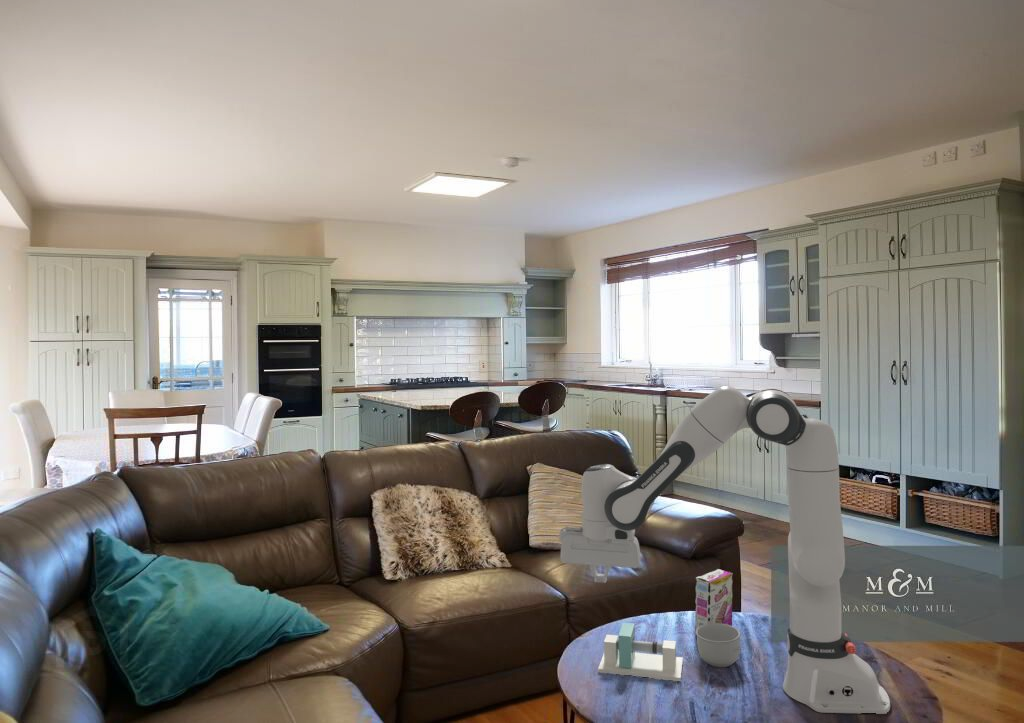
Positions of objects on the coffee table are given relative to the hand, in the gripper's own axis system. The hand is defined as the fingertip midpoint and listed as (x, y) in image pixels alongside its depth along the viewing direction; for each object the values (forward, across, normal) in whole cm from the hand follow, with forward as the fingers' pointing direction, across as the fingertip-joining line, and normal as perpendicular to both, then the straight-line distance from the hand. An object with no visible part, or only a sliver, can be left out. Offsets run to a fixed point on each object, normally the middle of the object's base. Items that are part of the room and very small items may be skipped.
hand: (600, 581), depth 184 cm
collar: (+20, +7, 0) cm, 21 cm away
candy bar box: (+21, +28, +25) cm, 43 cm away
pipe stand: (+21, +10, 0) cm, 23 cm away
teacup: (+21, +28, +9) cm, 37 cm away
